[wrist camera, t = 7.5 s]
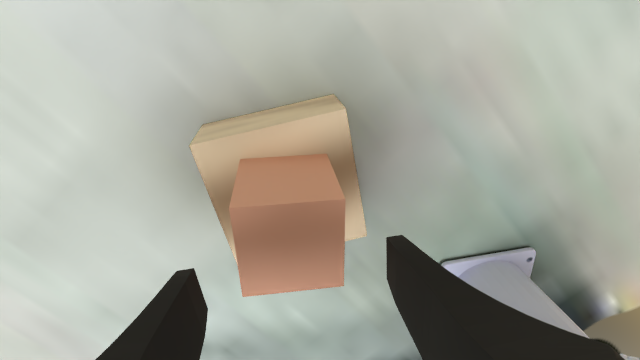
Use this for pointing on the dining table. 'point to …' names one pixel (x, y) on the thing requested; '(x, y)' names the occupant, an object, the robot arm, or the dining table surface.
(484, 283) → the robot arm
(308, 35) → the dining table surface
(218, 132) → the maple block
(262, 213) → the terracotta block
